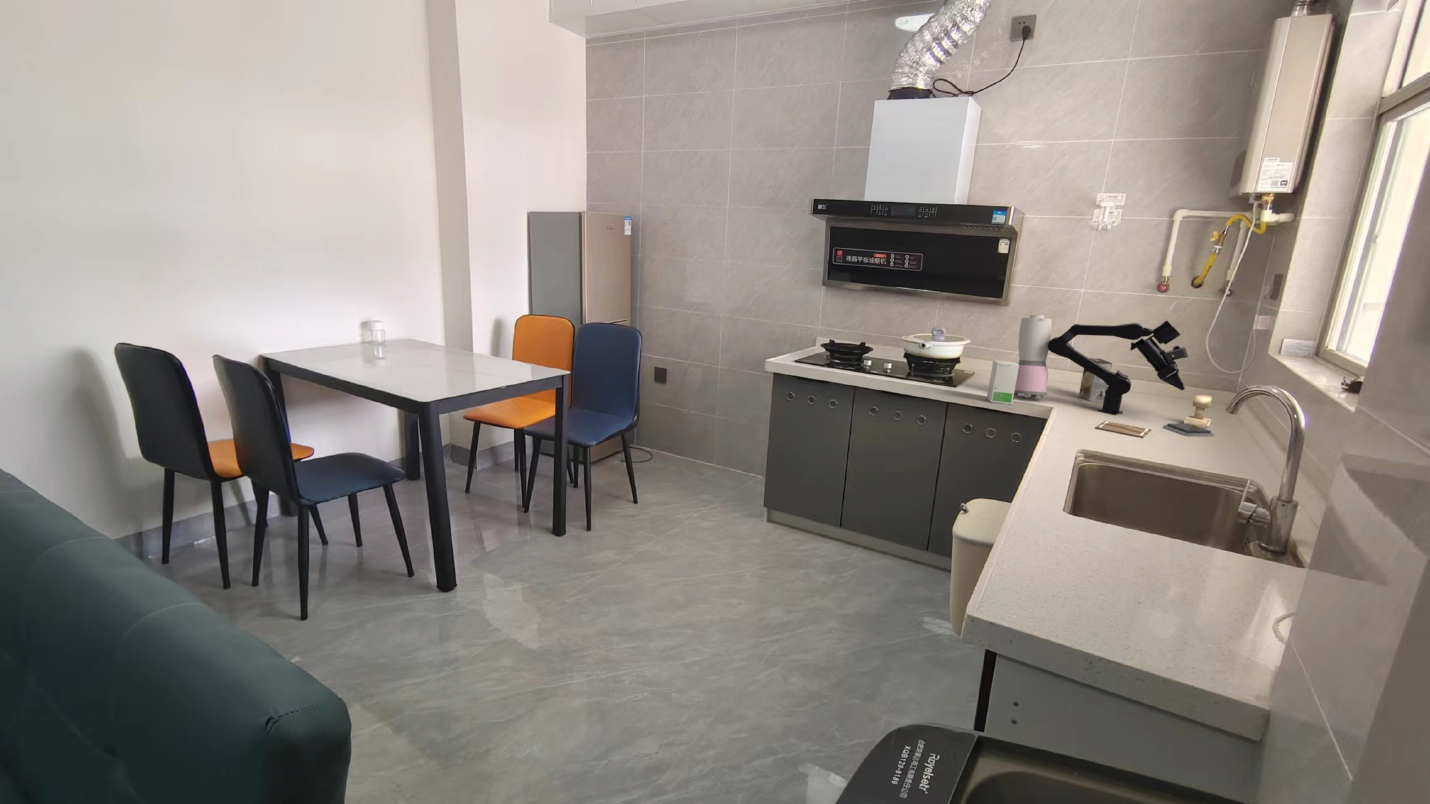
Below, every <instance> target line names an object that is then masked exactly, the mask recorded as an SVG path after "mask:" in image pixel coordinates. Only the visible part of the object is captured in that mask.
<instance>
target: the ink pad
mask: <svg viewBox="0 0 1430 804" xmlns="http://www.w3.org/2000/svg"><path fill="white" fill-rule="evenodd" d="M1163 429H1166V430H1169V431H1172V432H1174V433H1177V434H1180V435H1183V436H1185V437H1214V435H1215V433H1213V432H1211V431H1212V430H1209V429H1207V428H1205V429H1204V428H1201V427H1198V426H1195V425H1192V424H1184V423H1171V422H1170V423H1167V424H1163Z"/></svg>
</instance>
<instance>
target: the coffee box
mask: <svg viewBox="0 0 1430 804" xmlns="http://www.w3.org/2000/svg"><path fill="white" fill-rule="evenodd" d="M1088 358H1089V359H1091V360H1093V361H1094V362H1096V363H1097V364H1099V365H1101V366H1102V367H1104V368H1106V369H1107V370H1109V371H1111V372H1112V365H1113V362H1110V361H1107V360H1105V359H1102V358H1090V357H1088ZM1107 387H1108V385H1107V384H1106V383H1105V382H1104V381H1103V380H1102V379H1100V378H1099V377H1097V376H1095V375H1094V374H1092V373H1091V372H1089V371H1087V370H1086V369H1084V368H1083V371H1082V377H1081V381H1080V388H1079V393H1078V397H1080V398H1082V399H1085V400H1086V401H1088V402H1096V403H1097V402H1098V403H1103V401H1104V396H1105V390H1106V388H1107Z"/></svg>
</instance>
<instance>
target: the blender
mask: <svg viewBox="0 0 1430 804" xmlns="http://www.w3.org/2000/svg"><path fill="white" fill-rule="evenodd" d="M1052 324H1053V320H1052V319H1051V318H1045V315H1042V314H1029V316H1028V317H1023V318H1021V320H1020V326H1019V332H1018V333H1019V334H1018V355H1019V357H1018V358H1019V361H1018V362H1017V364H1019V368H1018V374H1017V379H1016V385H1015V391H1014V396H1015V397H1016V396H1017V397H1018V395H1019V394H1021V395H1023V396H1024V398H1037V397H1038V396H1040V399H1045V398H1046V396H1047V389H1048V381H1049V380H1048V379H1049V370H1048V367H1047V363H1046V362H1047V358H1048V355H1049V352H1050V351H1049V349H1048V343H1049V341H1050V340H1052V337H1051V336H1052ZM1014 396H1013V397H1014Z"/></svg>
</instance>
